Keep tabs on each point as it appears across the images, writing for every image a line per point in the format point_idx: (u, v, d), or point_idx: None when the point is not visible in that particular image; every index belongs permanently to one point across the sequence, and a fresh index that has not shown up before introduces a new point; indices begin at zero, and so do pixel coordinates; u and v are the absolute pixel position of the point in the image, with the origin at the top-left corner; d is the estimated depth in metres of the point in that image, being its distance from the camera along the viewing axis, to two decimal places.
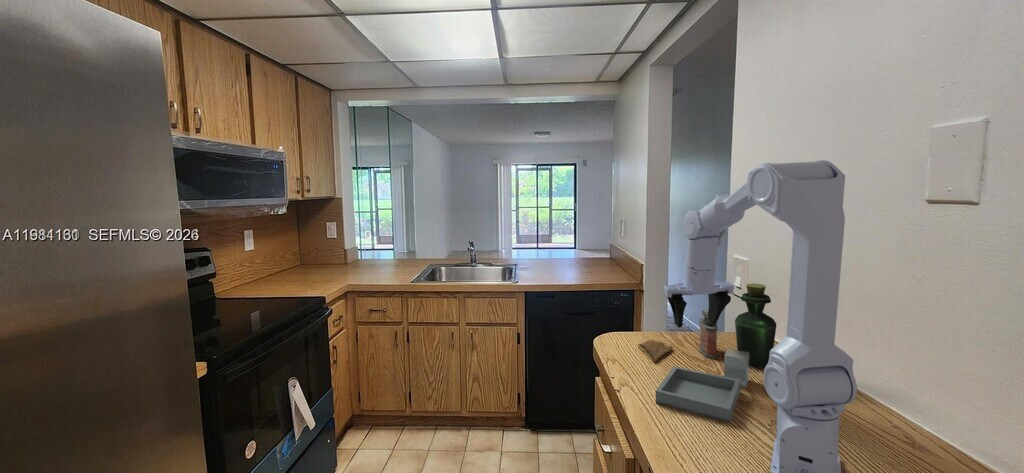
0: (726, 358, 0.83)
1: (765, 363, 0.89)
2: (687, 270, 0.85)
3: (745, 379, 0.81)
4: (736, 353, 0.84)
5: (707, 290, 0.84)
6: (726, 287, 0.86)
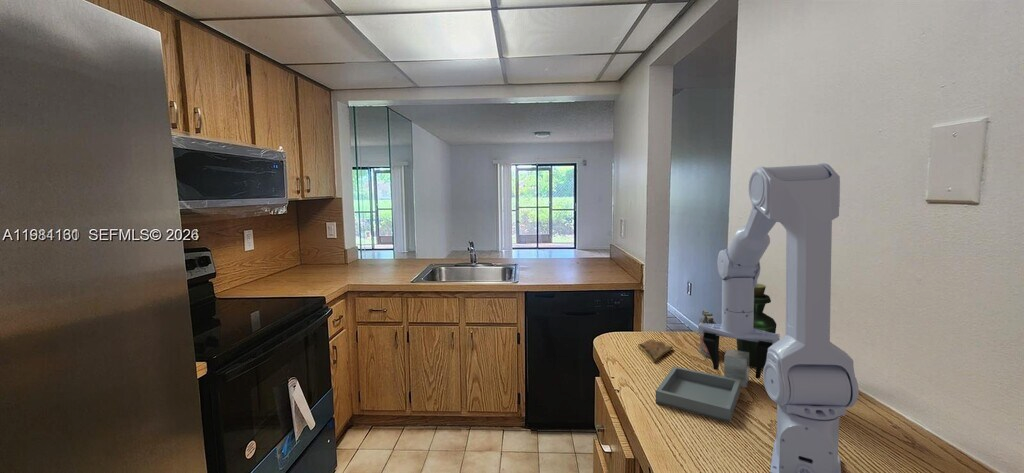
0: (726, 358, 0.83)
1: (765, 363, 0.89)
2: None
3: (745, 379, 0.81)
4: (736, 353, 0.84)
5: (737, 333, 0.81)
6: (767, 337, 0.79)
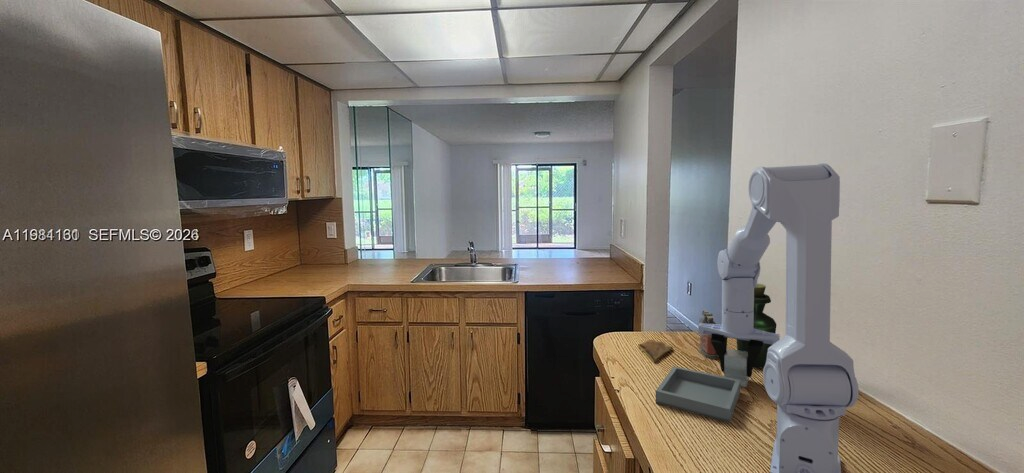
0: (726, 358, 0.83)
1: (765, 363, 0.89)
2: None
3: (745, 379, 0.81)
4: (736, 353, 0.84)
5: (737, 333, 0.81)
6: (767, 337, 0.79)
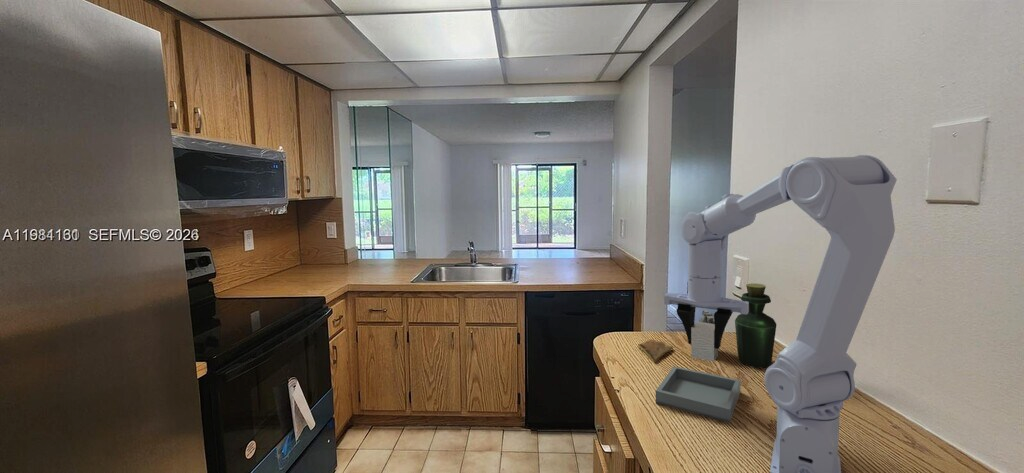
0: (693, 330, 0.78)
1: (765, 363, 0.89)
2: None
3: (713, 352, 0.76)
4: (704, 325, 0.78)
5: (702, 301, 0.75)
6: (735, 304, 0.73)
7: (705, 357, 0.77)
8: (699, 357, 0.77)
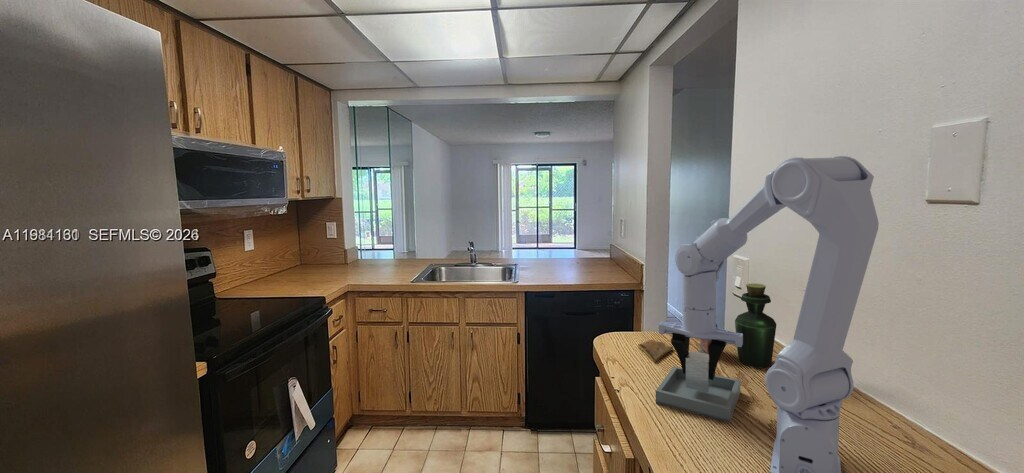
0: (687, 361, 0.77)
1: (765, 363, 0.89)
2: None
3: (707, 383, 0.76)
4: (698, 355, 0.78)
5: (697, 333, 0.75)
6: (729, 337, 0.73)
7: (699, 388, 0.77)
8: (693, 388, 0.77)
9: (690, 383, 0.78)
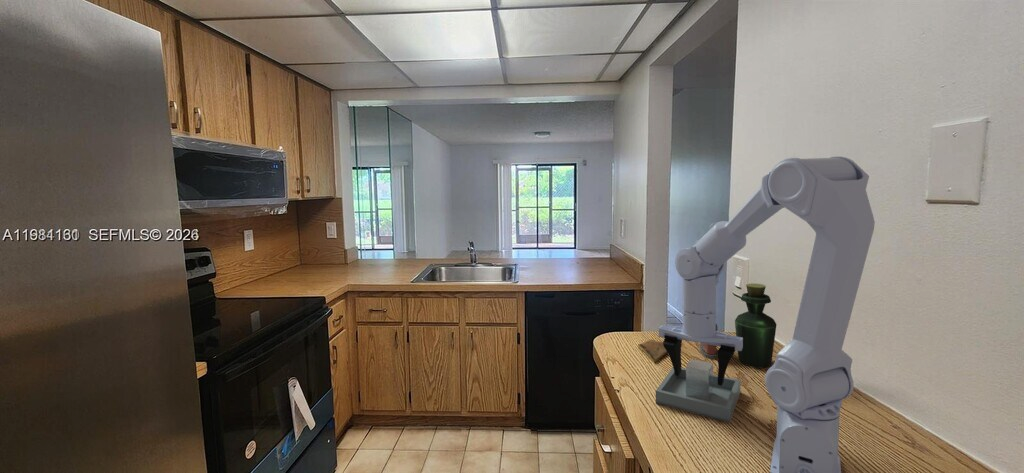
0: (688, 370, 0.78)
1: (765, 363, 0.89)
2: None
3: (707, 392, 0.76)
4: (699, 364, 0.78)
5: (697, 337, 0.75)
6: (729, 341, 0.73)
7: (700, 397, 0.77)
8: (694, 396, 0.77)
9: (690, 392, 0.78)
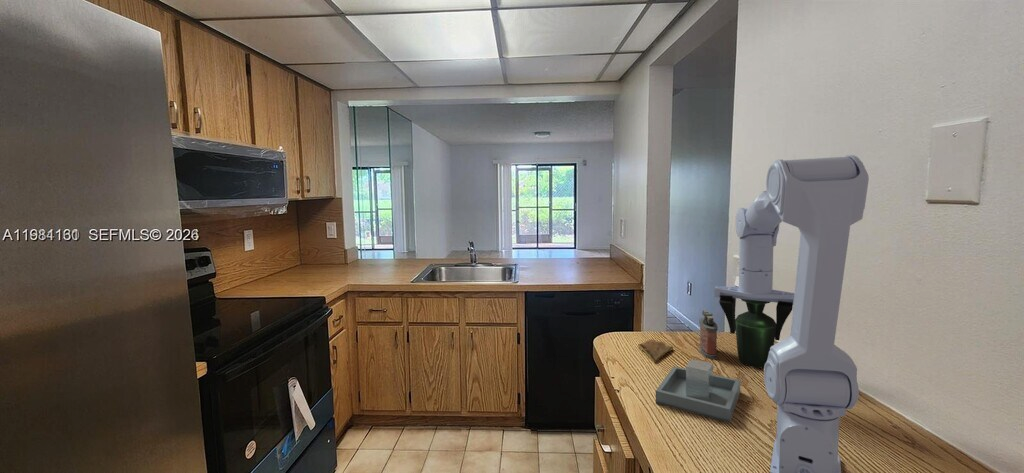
0: (688, 370, 0.78)
1: None
2: (739, 271, 0.81)
3: (707, 392, 0.76)
4: (699, 364, 0.78)
5: (755, 293, 0.78)
6: (788, 296, 0.76)
7: (700, 397, 0.77)
8: (694, 396, 0.77)
9: (690, 392, 0.78)
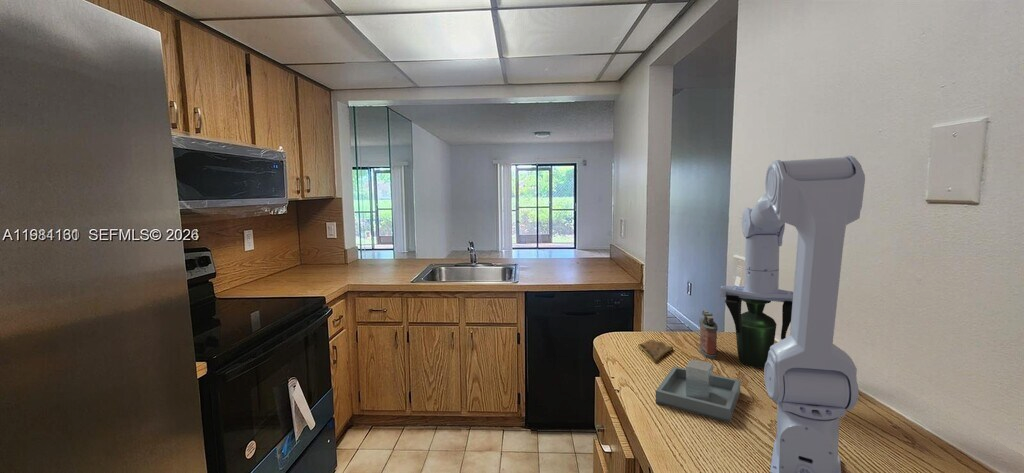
0: (688, 370, 0.78)
1: None
2: (745, 271, 0.82)
3: (707, 392, 0.76)
4: (699, 364, 0.78)
5: (761, 293, 0.78)
6: None
7: (700, 397, 0.77)
8: (694, 396, 0.77)
9: (690, 392, 0.78)
